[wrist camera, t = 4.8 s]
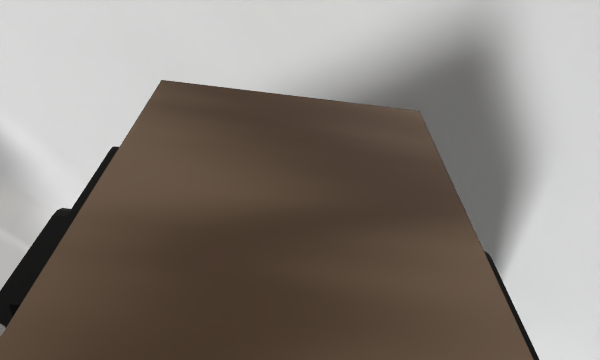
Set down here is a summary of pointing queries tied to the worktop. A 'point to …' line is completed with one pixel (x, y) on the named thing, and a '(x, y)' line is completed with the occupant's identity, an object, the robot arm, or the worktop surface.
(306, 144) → the walnut block
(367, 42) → the worktop surface
